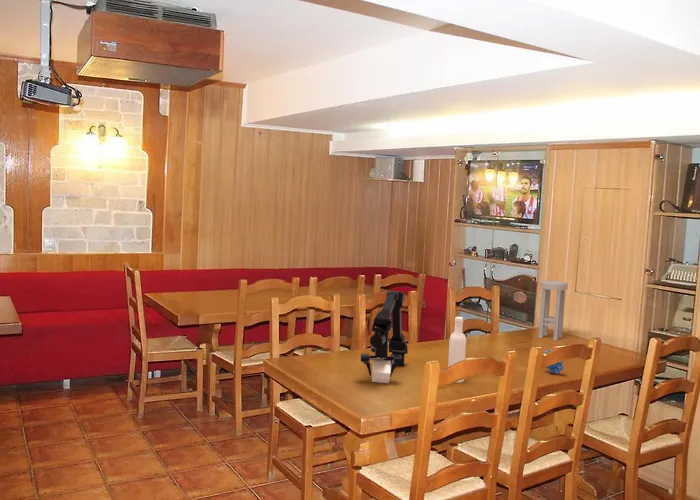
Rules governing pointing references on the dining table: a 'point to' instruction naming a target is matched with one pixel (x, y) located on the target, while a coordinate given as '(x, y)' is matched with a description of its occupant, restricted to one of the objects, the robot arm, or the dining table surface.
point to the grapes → (555, 366)
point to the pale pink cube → (381, 371)
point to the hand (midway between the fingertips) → (380, 376)
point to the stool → (559, 311)
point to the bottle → (457, 344)
